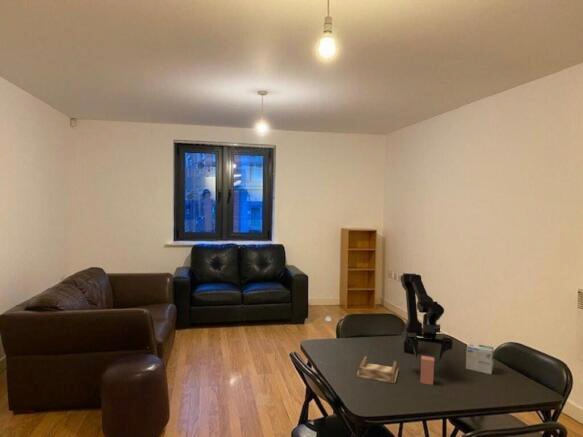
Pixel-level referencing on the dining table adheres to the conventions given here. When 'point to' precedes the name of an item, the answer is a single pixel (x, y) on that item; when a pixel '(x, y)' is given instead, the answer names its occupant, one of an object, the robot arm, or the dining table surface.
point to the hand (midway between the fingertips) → (428, 359)
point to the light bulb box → (479, 358)
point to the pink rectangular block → (427, 370)
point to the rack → (378, 371)
